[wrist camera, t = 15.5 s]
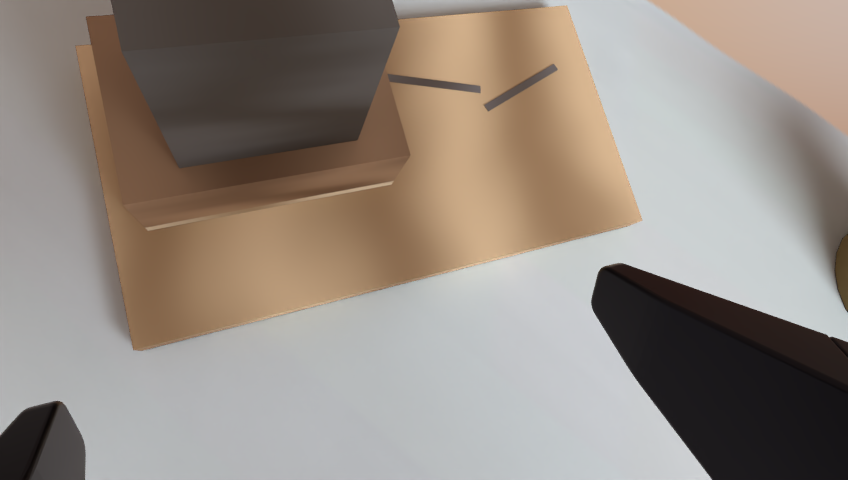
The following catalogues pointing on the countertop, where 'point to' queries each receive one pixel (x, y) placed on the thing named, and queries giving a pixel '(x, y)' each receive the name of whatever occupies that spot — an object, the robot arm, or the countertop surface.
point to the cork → (842, 270)
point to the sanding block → (246, 103)
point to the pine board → (397, 185)
